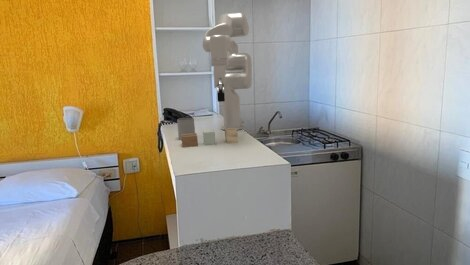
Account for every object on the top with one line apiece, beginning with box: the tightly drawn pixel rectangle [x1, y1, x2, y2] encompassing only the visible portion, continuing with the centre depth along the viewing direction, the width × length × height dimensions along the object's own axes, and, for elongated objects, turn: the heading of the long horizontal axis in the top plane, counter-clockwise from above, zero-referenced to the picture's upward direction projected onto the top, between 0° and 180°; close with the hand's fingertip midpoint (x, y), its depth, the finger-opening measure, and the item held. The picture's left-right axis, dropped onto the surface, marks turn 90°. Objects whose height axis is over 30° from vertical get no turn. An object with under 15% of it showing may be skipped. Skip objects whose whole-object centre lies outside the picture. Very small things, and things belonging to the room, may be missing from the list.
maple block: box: [224, 128, 238, 144], centre depth 176 cm, size 5×5×6 cm
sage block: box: [202, 129, 216, 146], centre depth 174 cm, size 5×5×6 cm
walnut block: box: [181, 132, 199, 148], centre depth 174 cm, size 7×7×5 cm
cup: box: [177, 117, 196, 141], centre depth 189 cm, size 8×8×10 cm
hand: (221, 100), depth 172 cm, fingers open, 9 cm apart
